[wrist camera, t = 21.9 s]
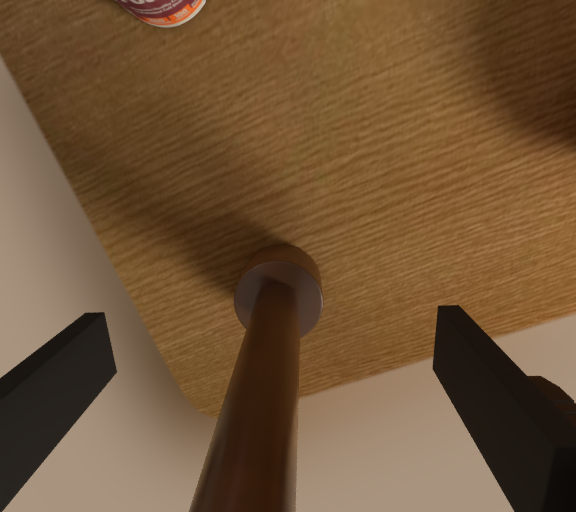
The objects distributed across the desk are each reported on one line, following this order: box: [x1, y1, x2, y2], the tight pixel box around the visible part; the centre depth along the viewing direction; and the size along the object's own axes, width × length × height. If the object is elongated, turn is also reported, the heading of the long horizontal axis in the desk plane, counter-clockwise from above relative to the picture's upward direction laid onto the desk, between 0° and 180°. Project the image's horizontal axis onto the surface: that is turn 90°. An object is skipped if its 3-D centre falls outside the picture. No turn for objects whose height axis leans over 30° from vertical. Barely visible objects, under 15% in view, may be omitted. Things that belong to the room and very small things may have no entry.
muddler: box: [189, 245, 323, 512], centre depth 13 cm, size 4×4×16 cm
